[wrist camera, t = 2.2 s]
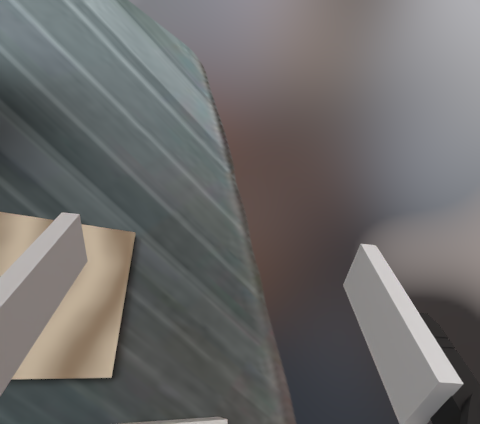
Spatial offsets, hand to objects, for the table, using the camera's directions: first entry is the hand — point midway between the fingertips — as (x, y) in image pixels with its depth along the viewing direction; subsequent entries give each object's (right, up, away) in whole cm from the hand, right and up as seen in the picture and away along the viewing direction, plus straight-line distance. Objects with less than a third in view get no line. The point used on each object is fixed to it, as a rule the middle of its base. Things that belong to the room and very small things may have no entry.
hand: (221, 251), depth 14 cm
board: (-21, -7, +17) cm, 28 cm away
